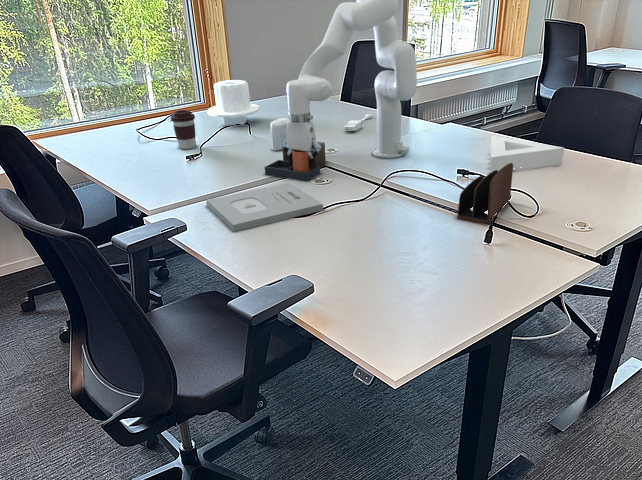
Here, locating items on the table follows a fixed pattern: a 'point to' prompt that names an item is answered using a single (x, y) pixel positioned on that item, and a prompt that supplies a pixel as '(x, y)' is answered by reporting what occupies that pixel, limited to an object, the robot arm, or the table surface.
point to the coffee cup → (184, 128)
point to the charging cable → (355, 124)
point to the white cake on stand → (232, 102)
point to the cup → (300, 161)
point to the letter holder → (486, 196)
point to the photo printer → (278, 132)
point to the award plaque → (263, 206)
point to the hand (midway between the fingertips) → (302, 166)
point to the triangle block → (522, 154)
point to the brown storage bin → (318, 159)
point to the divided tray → (290, 171)
